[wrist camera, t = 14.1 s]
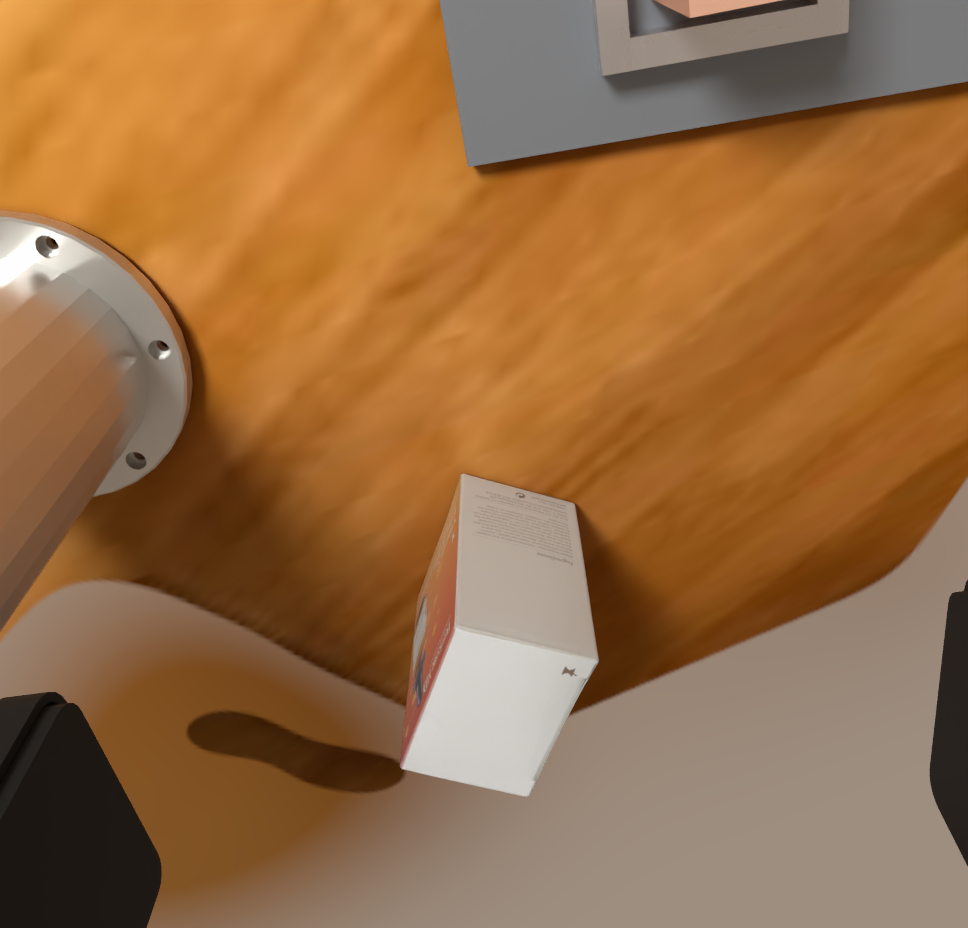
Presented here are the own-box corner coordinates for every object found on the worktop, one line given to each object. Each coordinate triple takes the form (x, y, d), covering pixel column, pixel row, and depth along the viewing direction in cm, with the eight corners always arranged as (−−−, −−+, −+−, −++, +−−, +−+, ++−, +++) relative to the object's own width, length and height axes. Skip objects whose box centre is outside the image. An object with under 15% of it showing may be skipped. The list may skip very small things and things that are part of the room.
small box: (461, 468, 41) (454, 622, 32) (578, 500, 42) (603, 659, 33) (413, 601, 45) (394, 772, 36) (521, 628, 46) (529, 802, 37)
